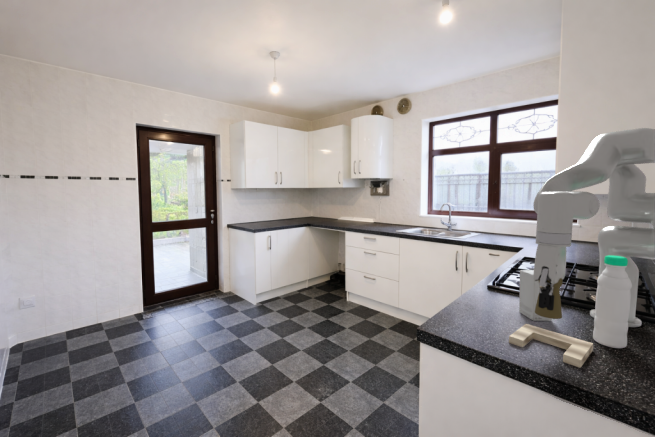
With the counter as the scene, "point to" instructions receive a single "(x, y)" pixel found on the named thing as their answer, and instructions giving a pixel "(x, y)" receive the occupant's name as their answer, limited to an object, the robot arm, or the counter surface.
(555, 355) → the counter surface
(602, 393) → the counter surface
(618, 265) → the water bottle
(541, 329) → the wooden u-shaped block
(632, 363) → the counter surface
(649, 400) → the counter surface
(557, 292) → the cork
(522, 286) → the skincare box
